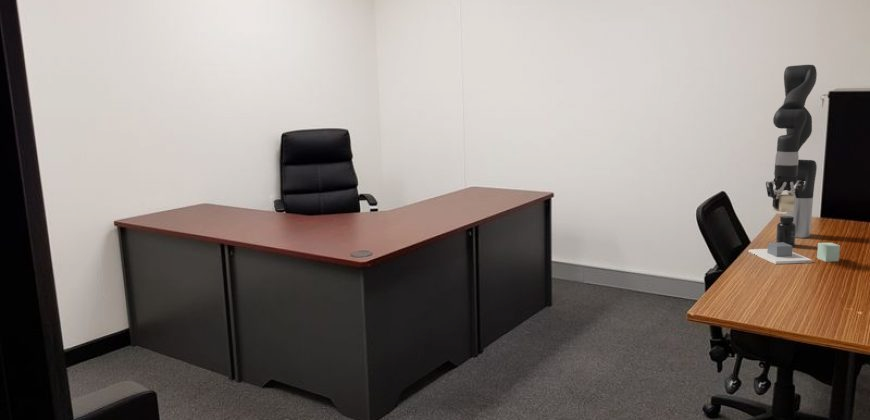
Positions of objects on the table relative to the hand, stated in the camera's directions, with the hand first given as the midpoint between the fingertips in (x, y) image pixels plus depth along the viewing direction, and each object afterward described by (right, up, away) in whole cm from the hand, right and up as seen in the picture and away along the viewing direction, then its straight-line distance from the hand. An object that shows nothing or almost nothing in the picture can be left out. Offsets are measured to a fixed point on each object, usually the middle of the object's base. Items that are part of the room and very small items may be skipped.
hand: (783, 208), depth 233 cm
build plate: (+1, -19, +4) cm, 19 cm away
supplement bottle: (+13, -16, +21) cm, 29 cm away
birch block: (0, -1, 0) cm, 1 cm away
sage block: (+16, -19, -2) cm, 25 cm away
